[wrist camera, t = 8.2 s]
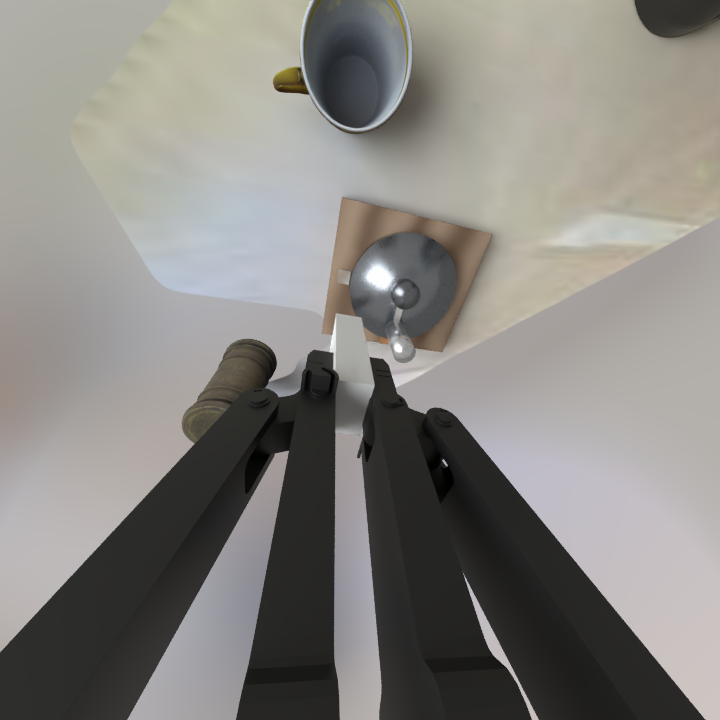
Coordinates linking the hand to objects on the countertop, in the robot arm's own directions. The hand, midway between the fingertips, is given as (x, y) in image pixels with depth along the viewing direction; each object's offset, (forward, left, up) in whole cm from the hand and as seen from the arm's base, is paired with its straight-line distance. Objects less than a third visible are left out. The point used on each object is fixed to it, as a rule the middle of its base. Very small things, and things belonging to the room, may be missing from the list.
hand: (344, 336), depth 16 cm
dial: (-10, +3, -26) cm, 28 cm away
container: (+13, +22, -30) cm, 39 cm away
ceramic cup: (+3, -17, -30) cm, 34 cm away
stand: (-10, +3, -29) cm, 31 cm away
